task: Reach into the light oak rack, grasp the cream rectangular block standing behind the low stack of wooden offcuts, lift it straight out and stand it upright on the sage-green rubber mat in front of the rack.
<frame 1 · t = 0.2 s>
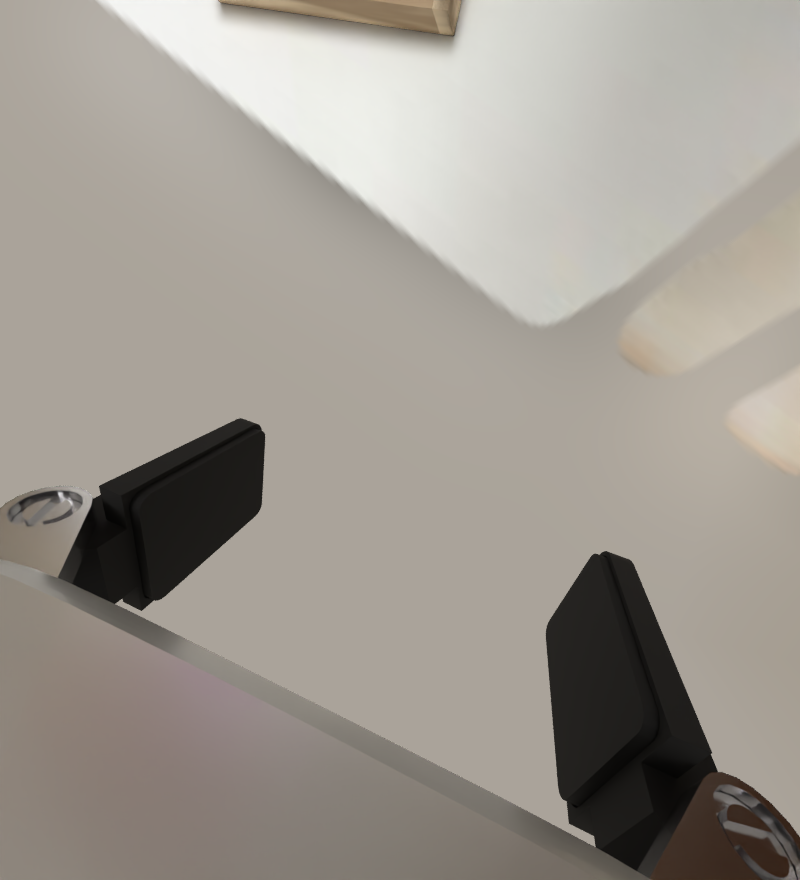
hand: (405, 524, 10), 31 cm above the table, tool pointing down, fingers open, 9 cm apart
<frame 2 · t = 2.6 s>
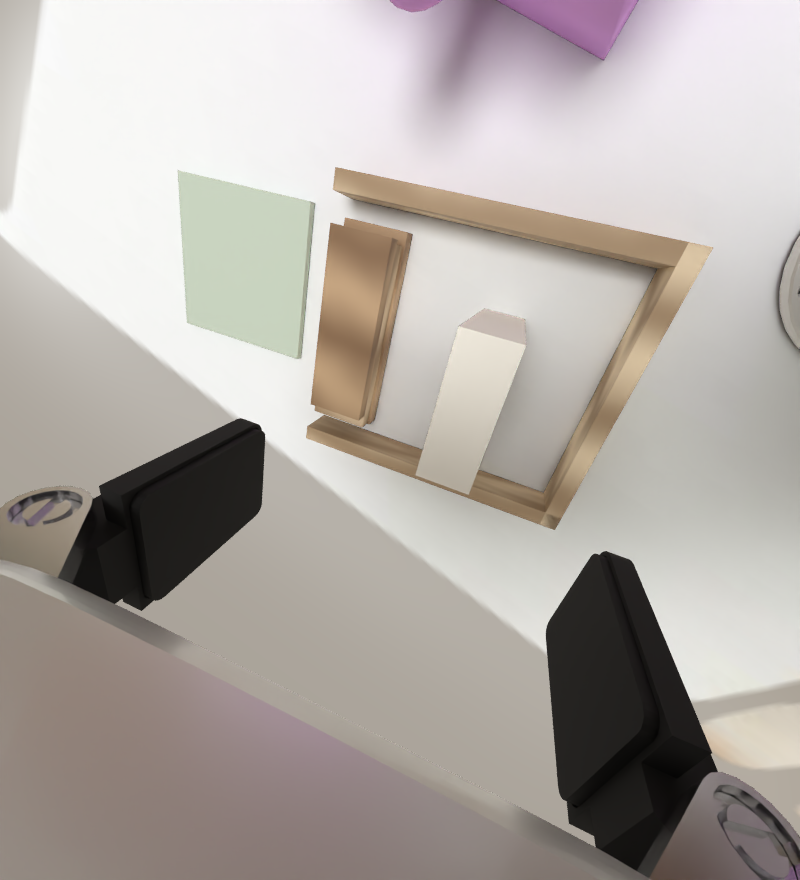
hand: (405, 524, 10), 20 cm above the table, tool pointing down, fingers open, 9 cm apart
offcut stack: (355, 332, 28), on the table
mat: (245, 270, 30), on the table
cream rectangular block: (486, 366, 27), resting in rack
rack: (461, 359, 28), on the table
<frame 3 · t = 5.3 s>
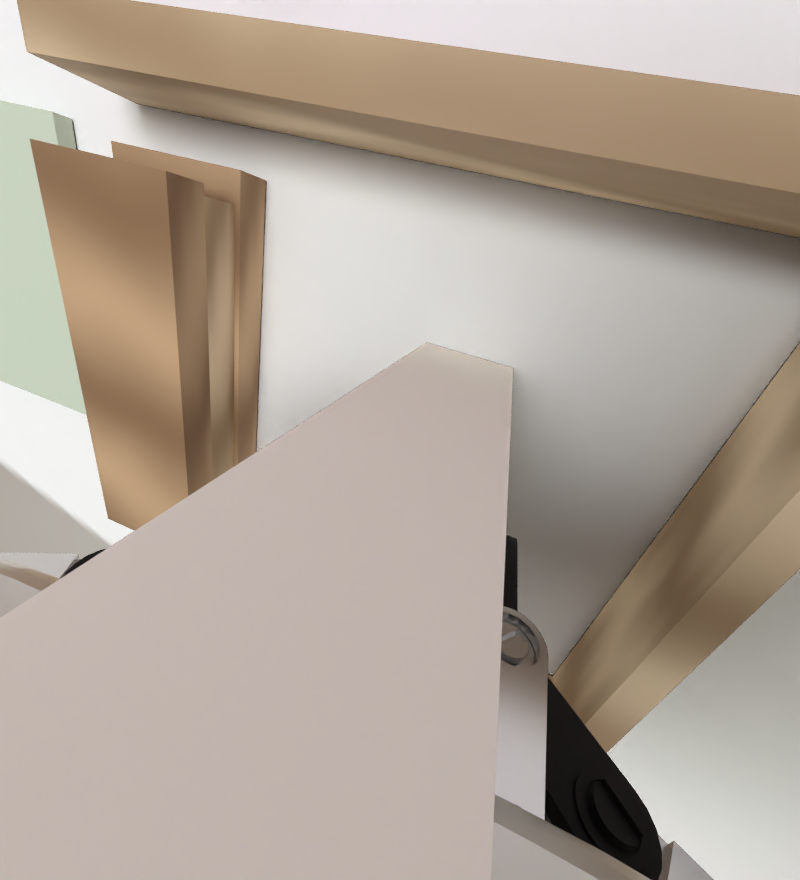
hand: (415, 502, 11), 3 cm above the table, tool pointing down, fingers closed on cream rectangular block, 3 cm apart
offcut stack: (174, 388, 14), on the table
cream rectangular block: (436, 456, 14), resting in rack, touching gripper
rack: (389, 440, 14), on the table
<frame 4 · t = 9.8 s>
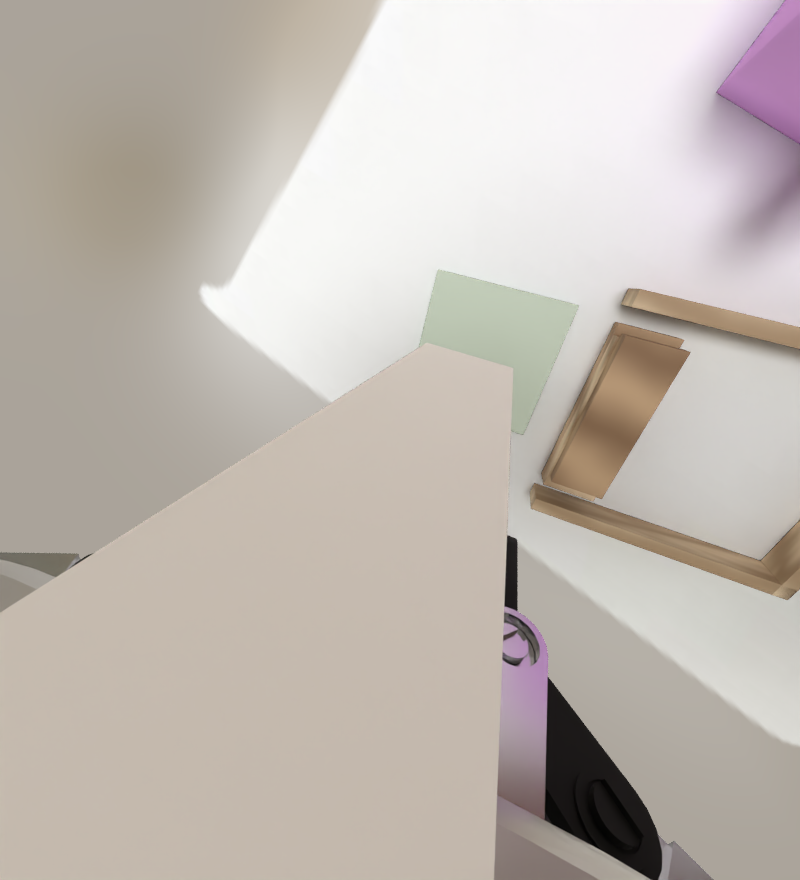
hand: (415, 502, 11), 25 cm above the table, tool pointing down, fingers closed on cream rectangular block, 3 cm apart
offcut stack: (606, 420, 30), on the table
mat: (483, 355, 33), on the table
cream rectangular block: (437, 456, 14), point 22 cm above the table, touching gripper
rack: (702, 444, 30), on the table
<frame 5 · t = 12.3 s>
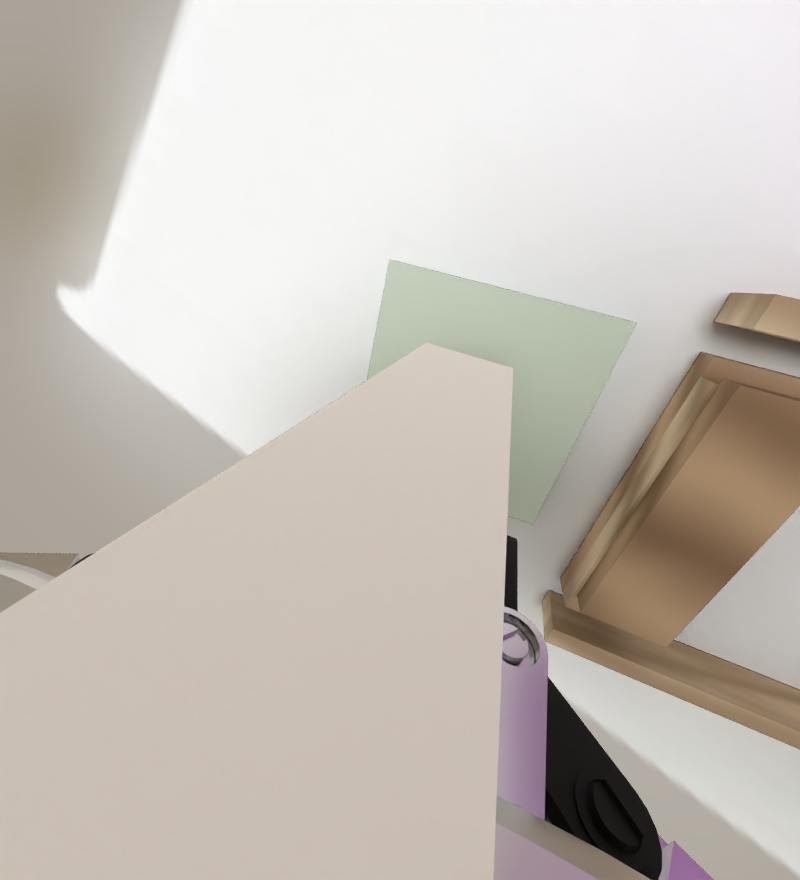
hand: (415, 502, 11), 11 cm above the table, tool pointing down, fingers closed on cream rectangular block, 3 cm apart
offcut stack: (677, 519, 17), on the table
mat: (468, 400, 20), on the table
cream rectangular block: (437, 456, 14), point 8 cm above the table, touching gripper
when the fingers open (5 cm above the table, at t = 14.3 s): cream rectangular block stays where it is, resting on mat.
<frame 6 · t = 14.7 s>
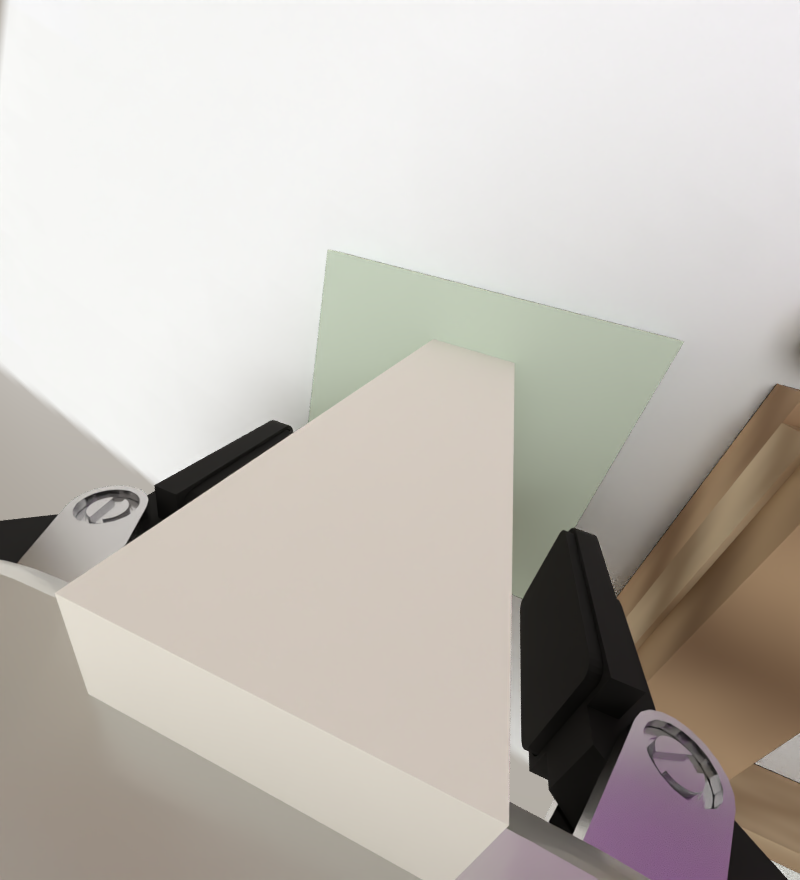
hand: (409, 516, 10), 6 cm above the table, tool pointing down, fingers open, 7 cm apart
offcut stack: (735, 618, 12), on the table
mat: (444, 441, 15), on the table
cream rectangular block: (441, 446, 14), point 1 cm above the table, touching mat
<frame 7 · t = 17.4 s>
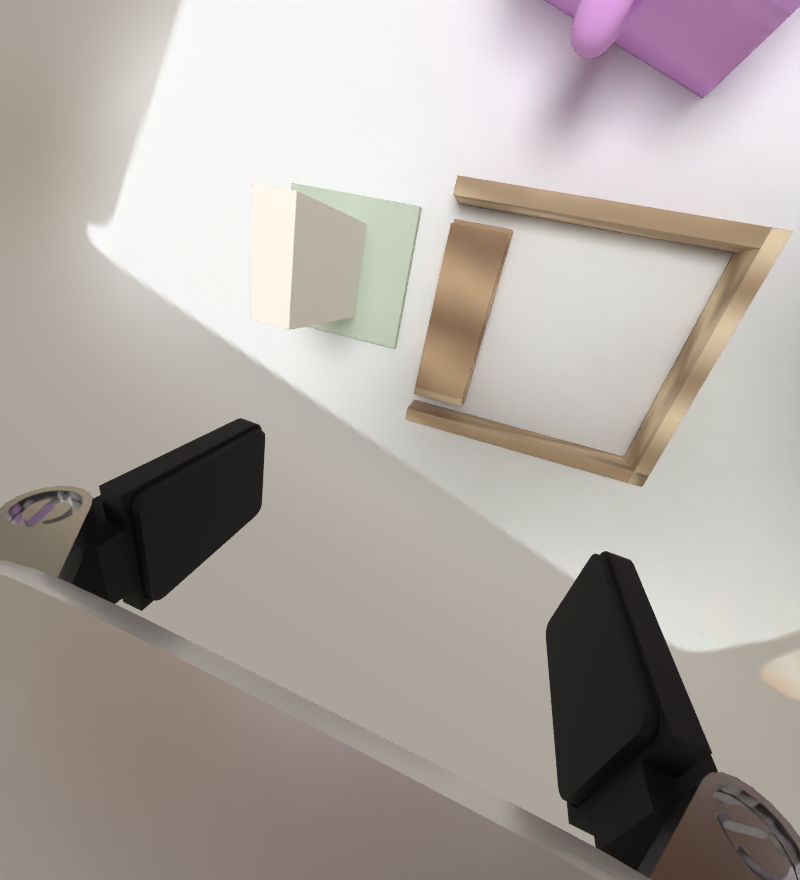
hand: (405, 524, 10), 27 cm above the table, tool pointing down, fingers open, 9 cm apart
offcut stack: (458, 320, 31), on the table
mat: (348, 270, 34), on the table
cream rectangular block: (345, 269, 33), point 1 cm above the table, touching mat
rack: (552, 340, 31), on the table
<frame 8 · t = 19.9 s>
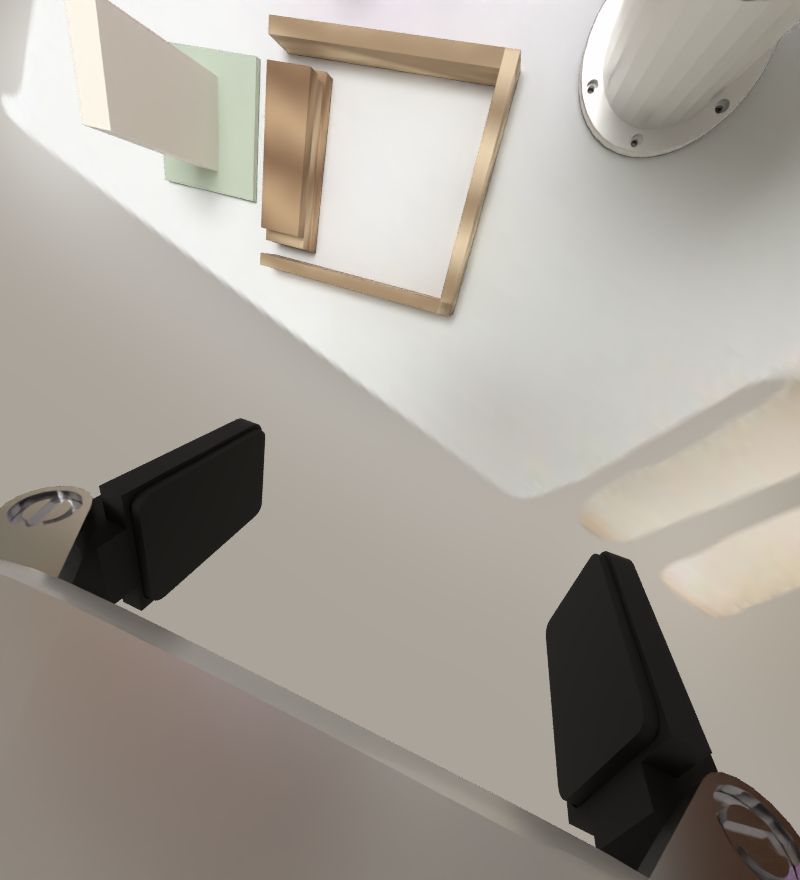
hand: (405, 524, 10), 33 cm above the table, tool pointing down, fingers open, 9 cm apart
offcut stack: (293, 164, 36), on the table
mat: (210, 126, 39), on the table
cream rectangular block: (206, 123, 38), point 1 cm above the table, touching mat
rack: (375, 185, 36), on the table
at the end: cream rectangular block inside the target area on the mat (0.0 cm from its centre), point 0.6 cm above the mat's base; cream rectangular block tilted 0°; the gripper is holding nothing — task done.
